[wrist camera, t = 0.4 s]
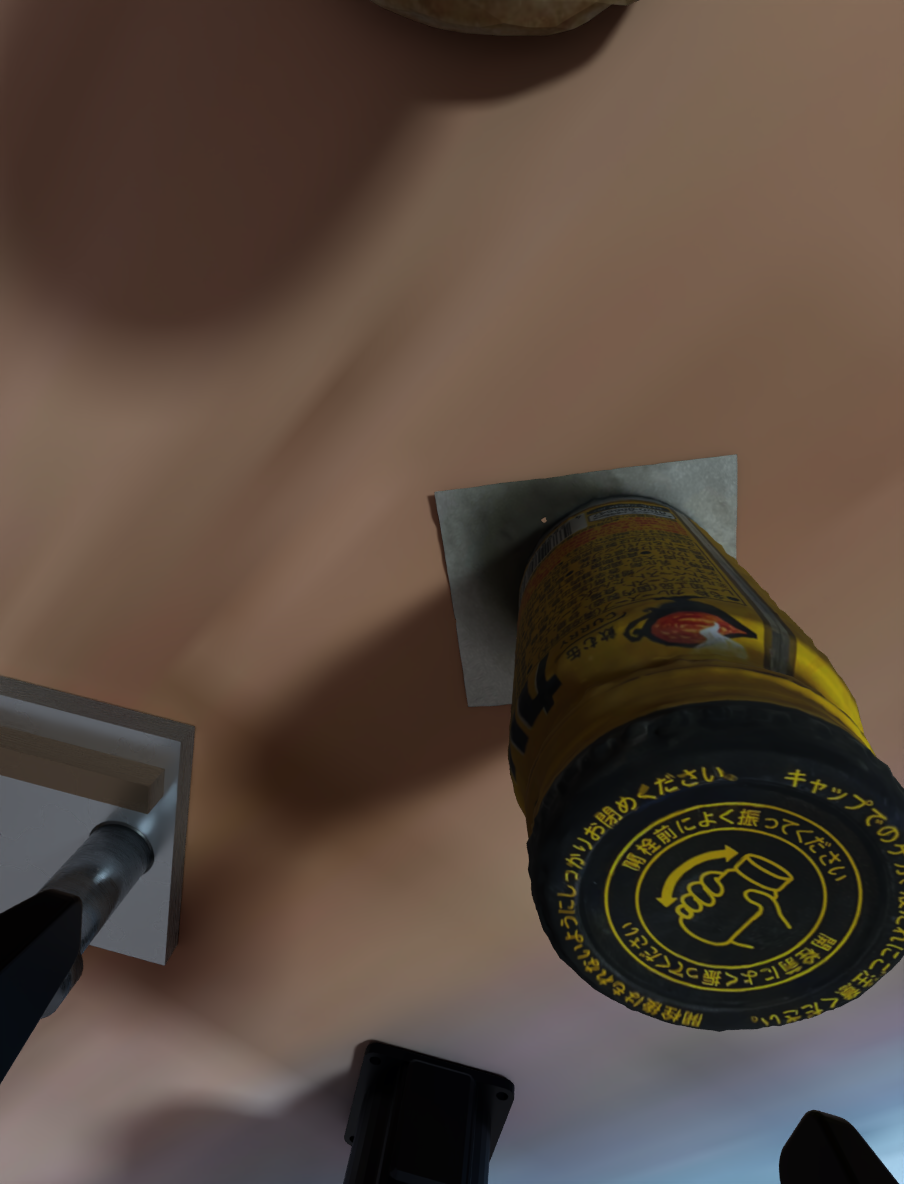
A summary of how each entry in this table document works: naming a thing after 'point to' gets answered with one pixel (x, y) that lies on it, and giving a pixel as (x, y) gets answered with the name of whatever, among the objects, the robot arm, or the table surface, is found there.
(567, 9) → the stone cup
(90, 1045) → the table surface
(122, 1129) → the table surface
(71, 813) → the plate
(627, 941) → the condiment
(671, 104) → the table surface
